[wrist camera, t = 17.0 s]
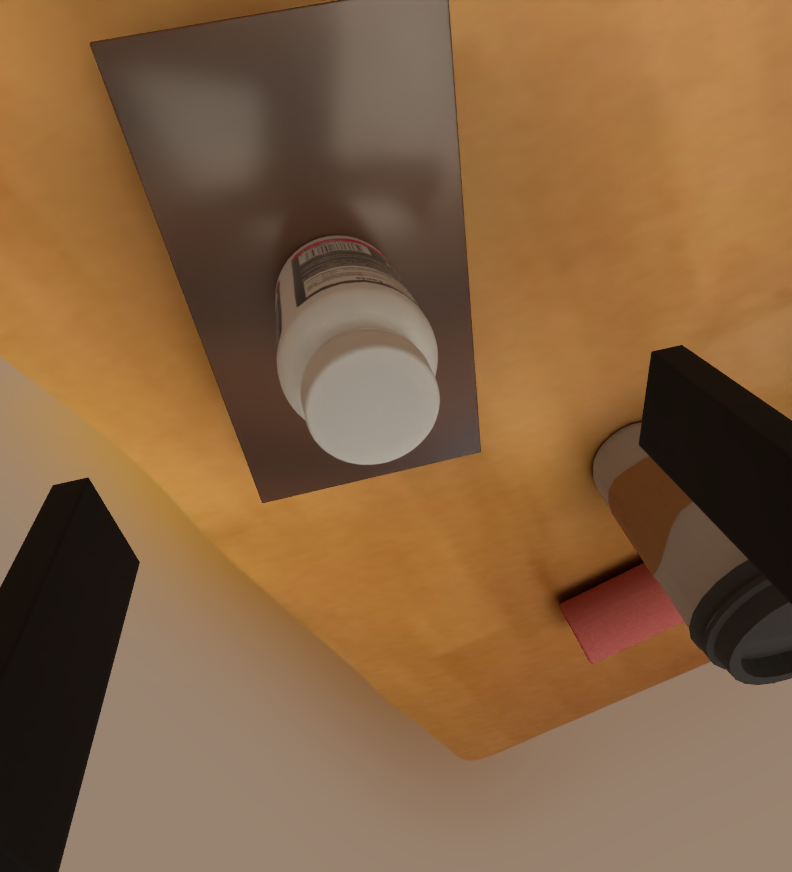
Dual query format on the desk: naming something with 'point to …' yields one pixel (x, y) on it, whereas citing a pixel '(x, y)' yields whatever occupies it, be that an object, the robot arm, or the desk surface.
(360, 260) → the pill bottle
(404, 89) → the stand
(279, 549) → the desk surface
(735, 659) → the coffee cup
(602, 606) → the blood vessel
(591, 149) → the desk surface
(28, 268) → the desk surface
